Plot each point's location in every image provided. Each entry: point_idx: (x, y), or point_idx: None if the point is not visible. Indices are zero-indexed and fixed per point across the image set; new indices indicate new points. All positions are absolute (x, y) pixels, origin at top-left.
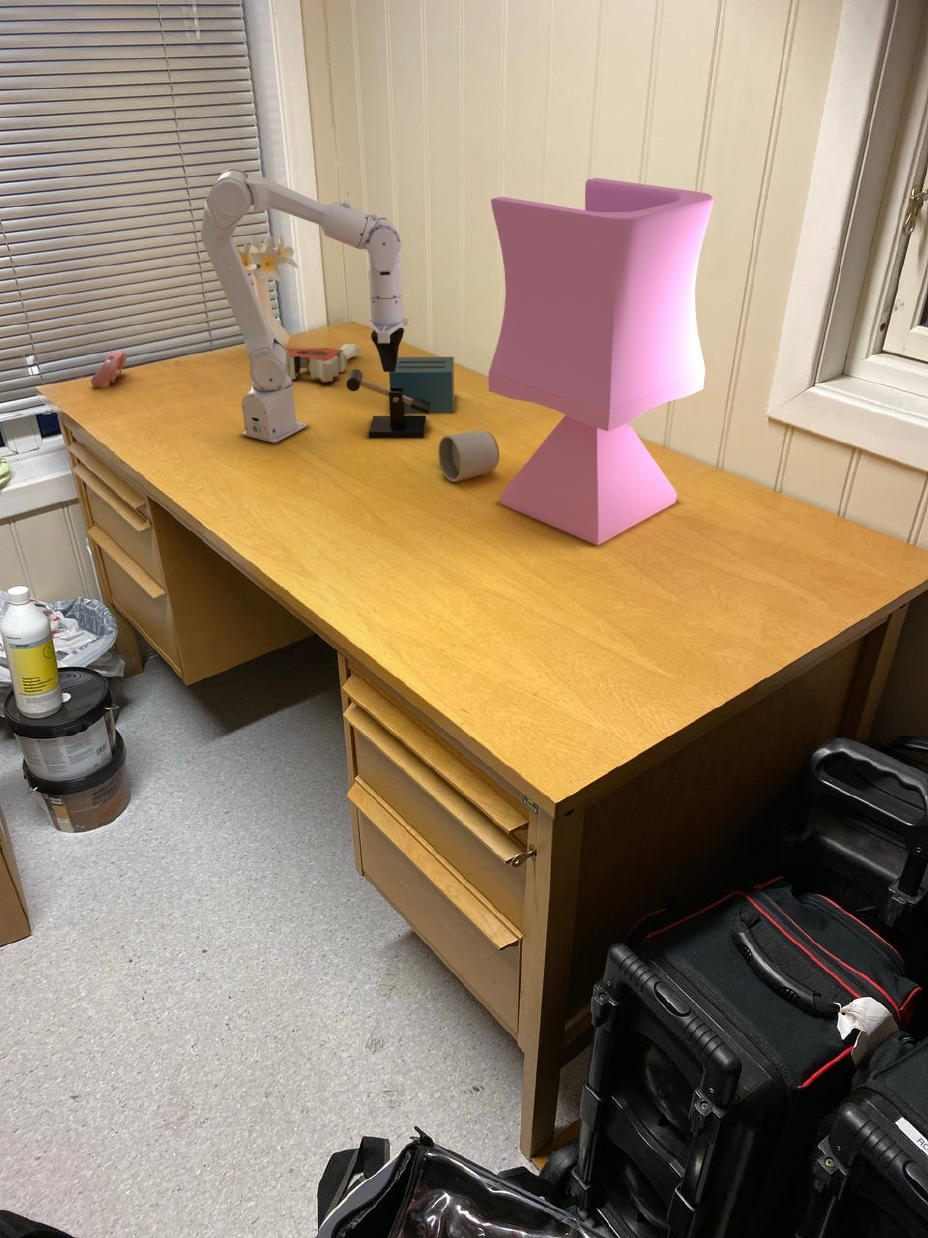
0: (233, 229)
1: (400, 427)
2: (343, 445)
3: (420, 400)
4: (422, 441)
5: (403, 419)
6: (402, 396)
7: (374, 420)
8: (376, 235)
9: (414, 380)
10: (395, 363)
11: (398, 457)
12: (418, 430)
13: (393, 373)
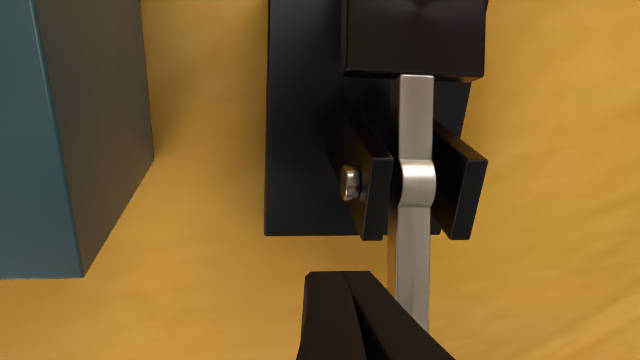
0: None
1: None
2: (475, 292)
3: (383, 18)
4: (511, 4)
5: None
6: (426, 145)
7: (321, 226)
8: None
9: (77, 70)
10: (406, 316)
11: (633, 105)
12: None
13: (82, 244)
